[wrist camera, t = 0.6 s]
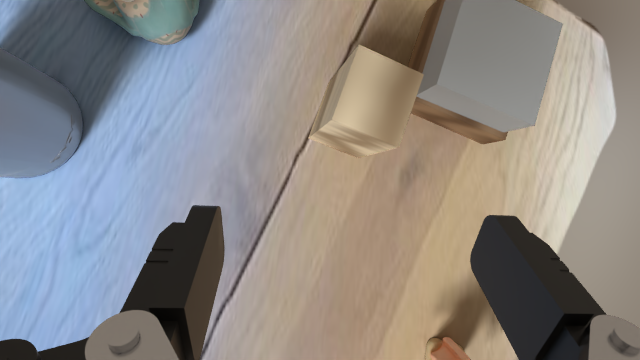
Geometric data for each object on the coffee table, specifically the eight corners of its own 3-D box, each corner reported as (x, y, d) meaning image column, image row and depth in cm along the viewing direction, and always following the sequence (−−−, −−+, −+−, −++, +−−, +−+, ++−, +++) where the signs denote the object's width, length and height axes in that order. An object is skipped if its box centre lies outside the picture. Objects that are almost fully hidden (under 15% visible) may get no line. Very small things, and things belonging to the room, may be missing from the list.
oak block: (308, 138, 36) (331, 119, 26) (328, 82, 37) (358, 44, 27) (358, 158, 37) (398, 147, 27) (377, 104, 38) (423, 74, 28)
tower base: (392, 106, 38) (408, 97, 35) (424, 13, 39) (444, -7, 36) (480, 144, 40) (505, 139, 36) (508, 54, 41) (536, 40, 38)
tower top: (415, 96, 35) (436, 84, 31) (444, 0, 36) (469, -23, 32) (503, 132, 36) (534, 125, 33) (529, 41, 37) (562, 23, 33)
